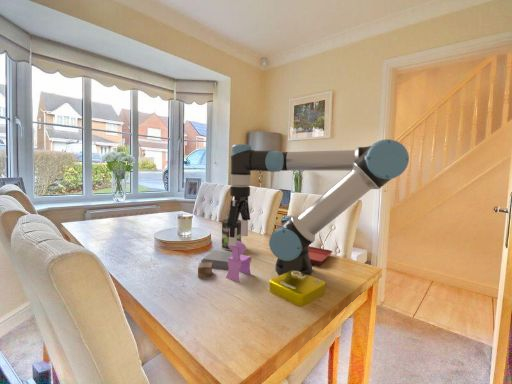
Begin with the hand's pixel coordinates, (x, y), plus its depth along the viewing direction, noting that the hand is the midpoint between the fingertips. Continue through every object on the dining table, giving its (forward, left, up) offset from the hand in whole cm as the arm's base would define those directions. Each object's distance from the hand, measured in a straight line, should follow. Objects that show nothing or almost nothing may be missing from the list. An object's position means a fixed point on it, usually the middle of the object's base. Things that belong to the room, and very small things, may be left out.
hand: (238, 240), depth 104 cm
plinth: (+12, -11, -14) cm, 21 cm away
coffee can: (+15, -32, -15) cm, 38 cm away
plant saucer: (-25, -30, -15) cm, 42 cm away
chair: (0, 0, -15) cm, 15 cm away
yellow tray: (-24, +6, -15) cm, 29 cm away
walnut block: (+13, +3, -14) cm, 19 cm away
